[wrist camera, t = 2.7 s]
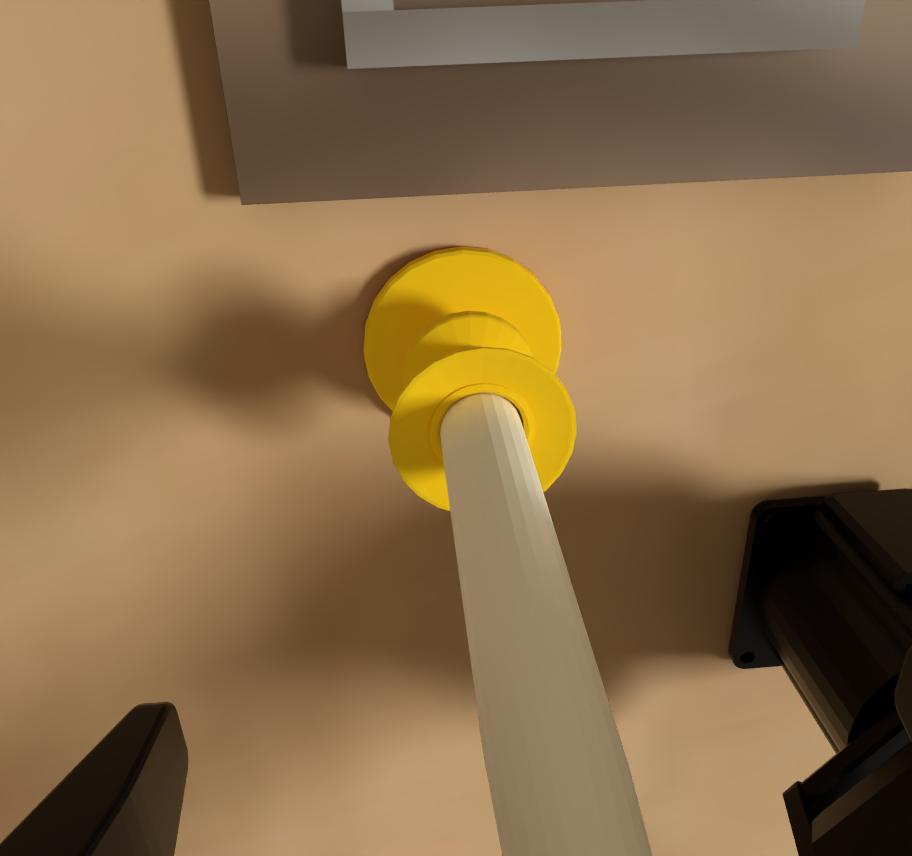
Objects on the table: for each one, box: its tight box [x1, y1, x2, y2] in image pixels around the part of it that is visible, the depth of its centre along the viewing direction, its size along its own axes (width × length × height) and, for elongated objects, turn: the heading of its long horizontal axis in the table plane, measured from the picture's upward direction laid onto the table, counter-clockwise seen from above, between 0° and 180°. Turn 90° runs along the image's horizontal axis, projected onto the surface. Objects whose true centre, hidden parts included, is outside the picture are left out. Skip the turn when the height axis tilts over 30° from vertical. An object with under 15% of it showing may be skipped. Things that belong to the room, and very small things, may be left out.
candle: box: [363, 246, 652, 856], centre depth 14 cm, size 5×5×16 cm
